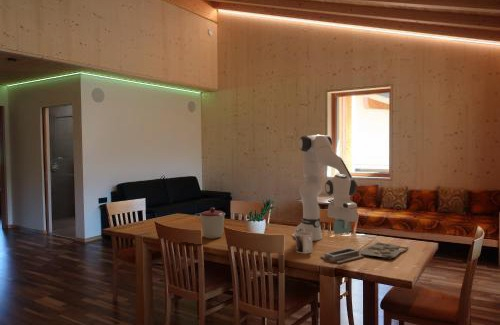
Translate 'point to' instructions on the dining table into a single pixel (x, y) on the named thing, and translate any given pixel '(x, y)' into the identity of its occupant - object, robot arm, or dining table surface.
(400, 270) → the dining table surface
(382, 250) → the stone relief
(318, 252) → the dining table surface
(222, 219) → the canister
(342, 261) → the track sill
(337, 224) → the teal box
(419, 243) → the dining table surface
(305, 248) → the mug
